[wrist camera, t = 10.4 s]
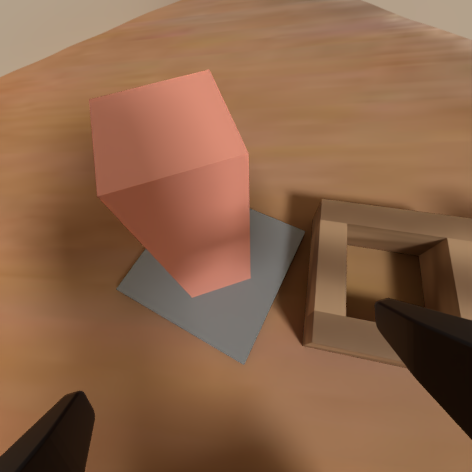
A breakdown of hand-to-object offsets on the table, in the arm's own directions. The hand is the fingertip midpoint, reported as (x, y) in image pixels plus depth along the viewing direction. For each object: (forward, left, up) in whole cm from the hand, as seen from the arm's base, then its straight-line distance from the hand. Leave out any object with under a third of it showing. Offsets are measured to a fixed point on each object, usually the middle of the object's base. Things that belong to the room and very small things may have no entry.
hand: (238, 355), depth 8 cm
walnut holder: (+10, -7, -13) cm, 17 cm away
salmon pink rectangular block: (+5, +6, -12) cm, 14 cm away
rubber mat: (+6, +6, -13) cm, 15 cm away
